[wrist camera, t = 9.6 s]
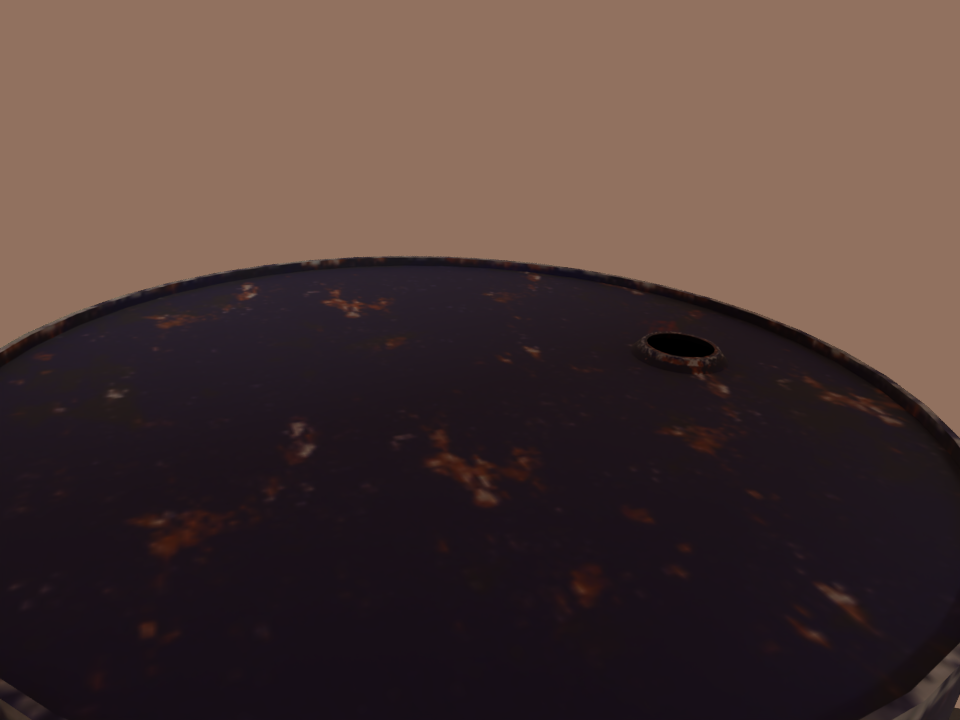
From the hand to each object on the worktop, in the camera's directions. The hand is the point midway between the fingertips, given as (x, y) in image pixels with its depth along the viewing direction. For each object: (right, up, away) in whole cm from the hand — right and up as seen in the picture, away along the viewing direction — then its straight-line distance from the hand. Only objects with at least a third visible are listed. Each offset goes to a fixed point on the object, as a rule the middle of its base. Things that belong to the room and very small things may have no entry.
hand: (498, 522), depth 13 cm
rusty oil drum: (-1, -11, 0) cm, 11 cm away
